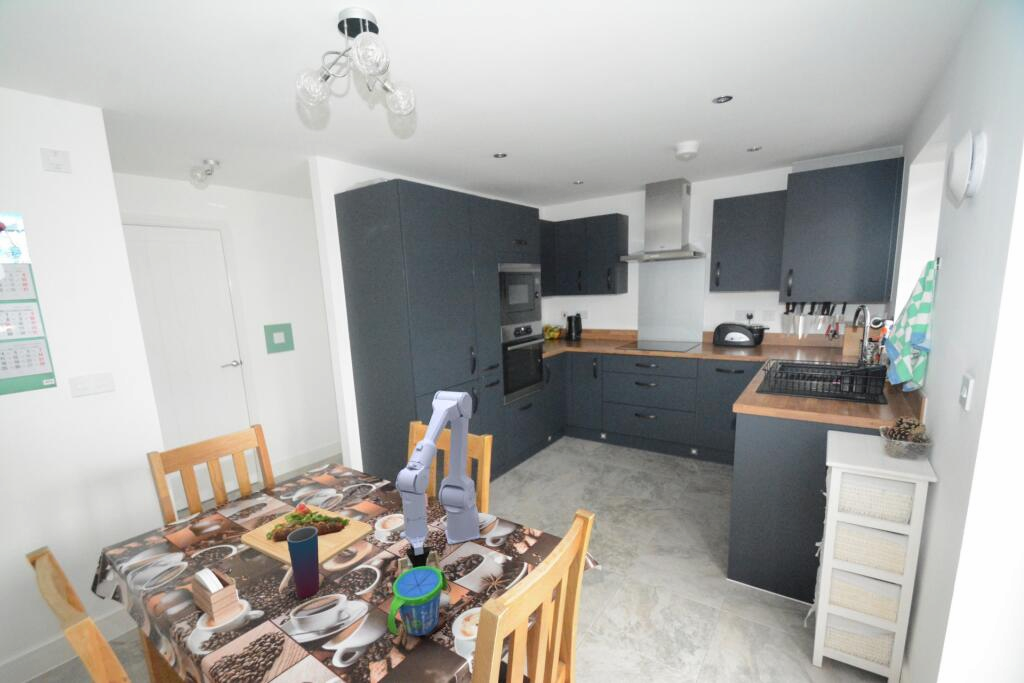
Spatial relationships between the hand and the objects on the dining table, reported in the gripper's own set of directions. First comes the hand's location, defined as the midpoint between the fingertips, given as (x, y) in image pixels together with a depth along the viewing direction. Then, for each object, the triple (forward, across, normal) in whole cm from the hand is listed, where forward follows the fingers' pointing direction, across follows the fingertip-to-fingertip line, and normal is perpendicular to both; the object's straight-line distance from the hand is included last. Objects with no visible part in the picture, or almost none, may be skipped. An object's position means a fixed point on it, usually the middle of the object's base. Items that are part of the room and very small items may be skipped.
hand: (418, 564), depth 106 cm
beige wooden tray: (+3, 0, 0) cm, 3 cm away
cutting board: (+4, -33, -32) cm, 46 cm away
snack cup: (+4, +16, -1) cm, 16 cm away
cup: (+4, -5, -27) cm, 28 cm away
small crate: (+3, 0, 0) cm, 3 cm away
